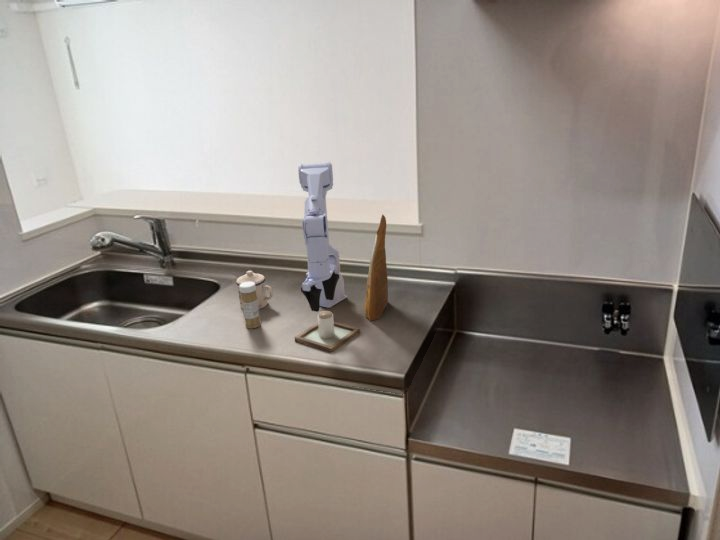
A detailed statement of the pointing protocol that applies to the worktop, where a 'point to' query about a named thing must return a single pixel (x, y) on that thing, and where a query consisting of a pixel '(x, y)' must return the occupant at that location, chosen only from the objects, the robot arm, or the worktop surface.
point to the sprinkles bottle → (250, 304)
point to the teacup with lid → (260, 288)
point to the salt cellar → (326, 324)
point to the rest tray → (330, 344)
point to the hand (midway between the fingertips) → (322, 304)
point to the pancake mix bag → (377, 276)
